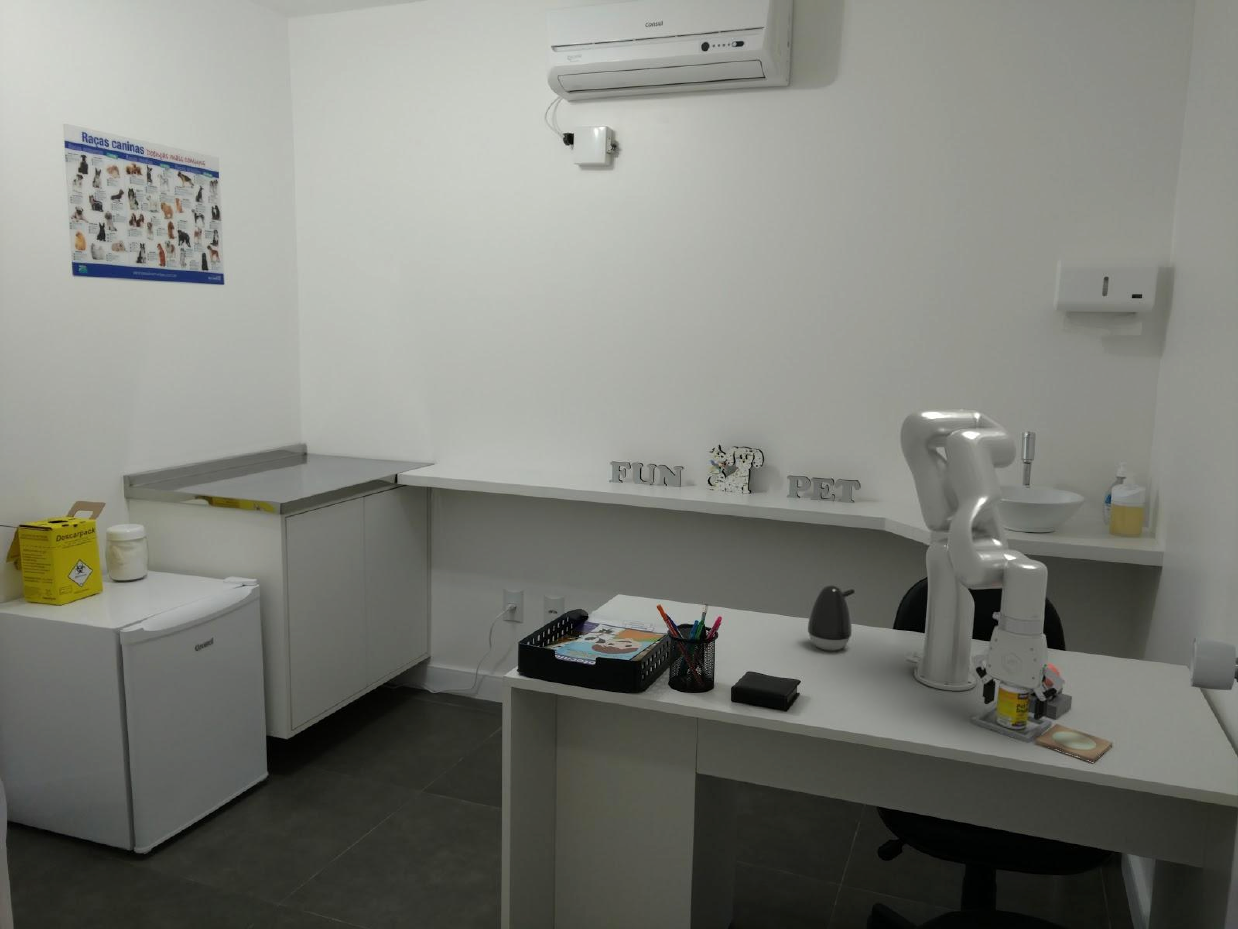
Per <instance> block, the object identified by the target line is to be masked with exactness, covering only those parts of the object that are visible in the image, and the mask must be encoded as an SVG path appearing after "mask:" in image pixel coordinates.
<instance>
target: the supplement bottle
mask: <svg viewBox="0 0 1238 929" xmlns="http://www.w3.org/2000/svg"><path fill="white" fill-rule="evenodd" d="M1029 698H1030V689H1028V688H1024V687H1020V686H1017V685H1014V684H1010V683H1007V682H1003V681H1000V680H999V683H998V691H997V702H996V704H997V711H996V712H995V713H996V714H995V721H996V723H997V724H999V726H1000V727H1003V728H1006V729H1009V730H1011V729H1012V730H1022V729H1024V728H1026V726H1027V724H1028V720H1027V716H1028V714H1029V711H1028V707H1029Z"/></svg>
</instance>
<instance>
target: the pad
mask: <svg viewBox="0 0 1238 929" xmlns="http://www.w3.org/2000/svg"><path fill="white" fill-rule="evenodd" d="M1034 741H1035V742H1034V744H1035V743H1037V744H1039V745H1038V746H1040V745H1041V747H1043V746H1046V747H1049V748H1051V749H1050V750H1052V749H1057V750H1059V751H1061V752H1064V753H1068V754H1071V755H1073V756H1078V757H1080V758H1082V759H1084V760H1089V761H1091V762H1094V761H1095V760H1096V761H1098V760H1099V759H1100V758H1099V756H1101V755H1102V754H1103V753H1104V754H1105V753H1107V752H1108V751H1109V750H1110V749H1111V748H1112V747H1113V744H1114V742H1113V741H1111V740H1107V739H1103V738H1101V737H1098V736H1094V735H1091V734H1089V733H1085V732H1082V731H1079V730H1077V729H1074V728H1070V727H1067V726H1064V725H1061V724H1057V723H1056V724H1054V725H1053V726H1050V727H1049V728H1048V730H1047V729H1046V730H1045V731H1044V732H1043V733H1041V735H1040V736H1037V737H1036V739H1035V740H1034ZM1037 744H1036V745H1037ZM1111 746H1112V747H1111ZM1046 747H1045V748H1046ZM1110 747H1111V748H1110ZM1049 748H1048V749H1049ZM1108 749H1109V750H1108ZM1107 750H1108V751H1107ZM1061 752H1060V753H1061ZM1064 753H1063V754H1064ZM1104 754H1103V755H1104ZM1103 755H1102V756H1103ZM1102 756H1101V757H1102ZM1098 758H1099V759H1098ZM1097 759H1098V760H1097ZM1084 760H1083V761H1084ZM1096 761H1095V762H1096ZM1095 762H1094V763H1095Z"/></svg>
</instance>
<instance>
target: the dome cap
mask: <svg viewBox="0 0 1238 929" xmlns="http://www.w3.org/2000/svg"><path fill="white" fill-rule="evenodd" d="M1048 668H1050V669H1051V670H1052V671H1053V672H1055V673H1056V674H1057V675H1058V676H1060V677H1061V673H1060V671H1059V669H1058V668H1057V667H1056V666H1055V665H1053V664H1052V663H1051V664H1050V663H1048ZM1044 684H1045V685H1046V687H1047V688H1048V690H1049V689H1050V688H1051V687H1052V686H1053V682H1052V681H1051V680H1050V679H1048V678H1047V679H1046V682H1045V683H1044ZM1063 687H1064V686H1063ZM1063 687H1062V688H1061V689H1060V690H1059V692H1058V693H1056V694H1055V695H1058V694H1061V693H1062V694H1063V689H1064V688H1063ZM1031 690H1033V689H1031ZM1033 691H1034V690H1033ZM1036 697H1038V696H1037V694H1036ZM1048 701H1052V696H1051V697H1049V698H1048Z"/></svg>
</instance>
